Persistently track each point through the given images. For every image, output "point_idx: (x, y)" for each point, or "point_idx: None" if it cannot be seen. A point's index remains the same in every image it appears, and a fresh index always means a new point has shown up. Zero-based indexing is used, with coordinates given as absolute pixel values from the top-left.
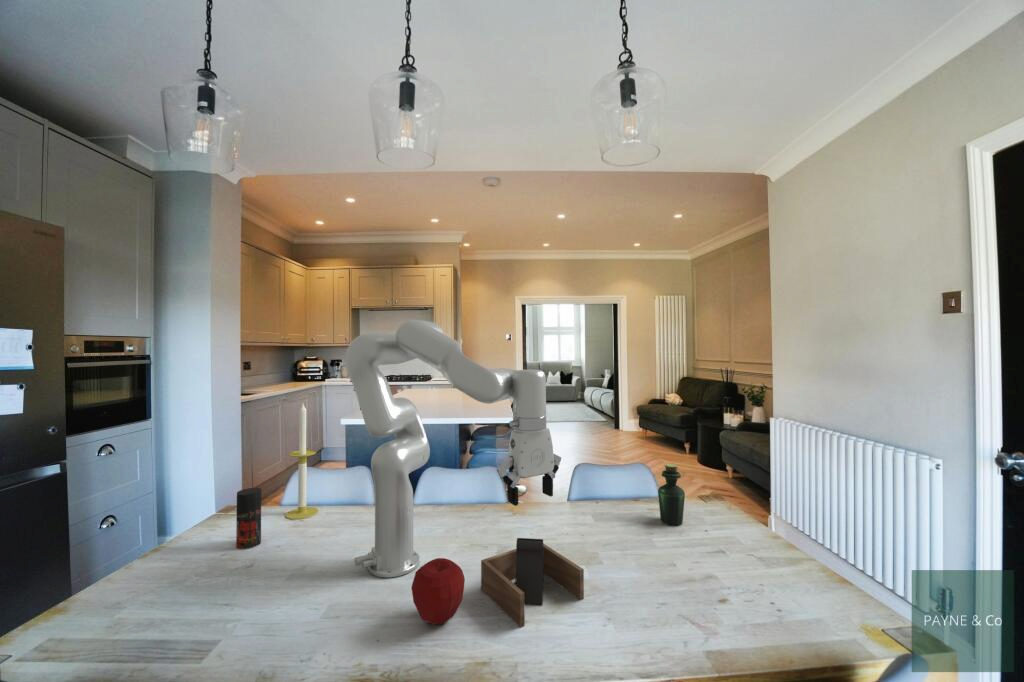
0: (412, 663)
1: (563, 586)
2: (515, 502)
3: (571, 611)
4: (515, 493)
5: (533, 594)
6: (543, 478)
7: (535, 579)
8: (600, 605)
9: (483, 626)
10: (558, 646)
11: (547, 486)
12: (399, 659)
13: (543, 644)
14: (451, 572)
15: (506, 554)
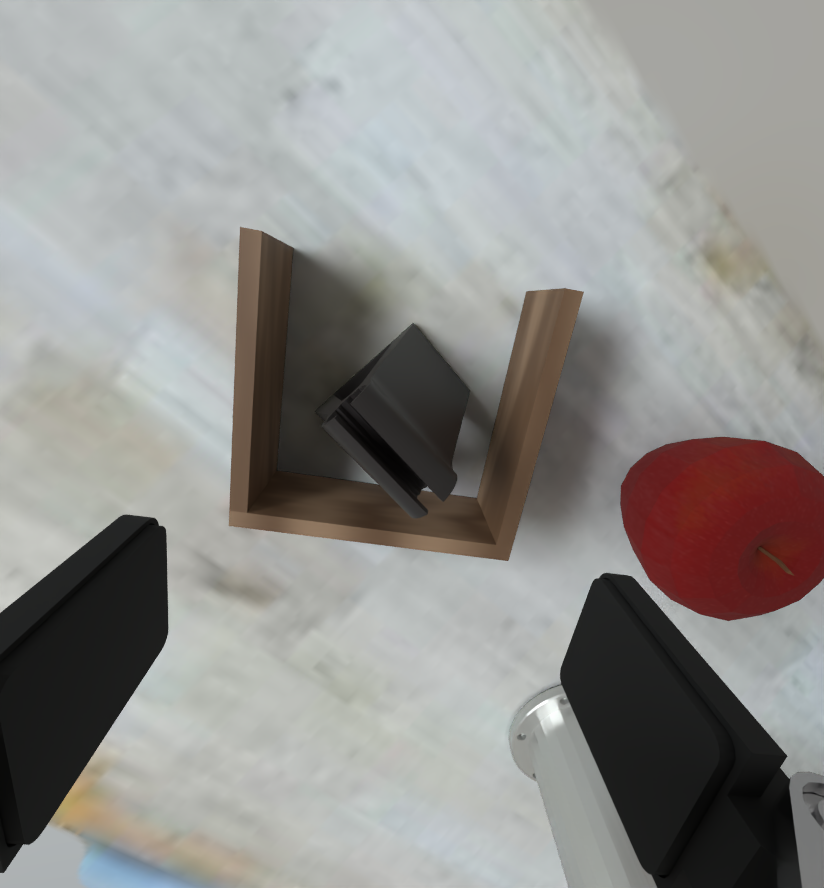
0: (811, 388)
1: (285, 341)
2: (641, 599)
3: (363, 230)
4: (711, 680)
5: (428, 354)
6: (37, 810)
7: (413, 367)
8: (256, 173)
9: (605, 375)
10: (527, 140)
11: (102, 639)
12: (817, 420)
13: (551, 184)
14: (771, 505)
15: (411, 534)
